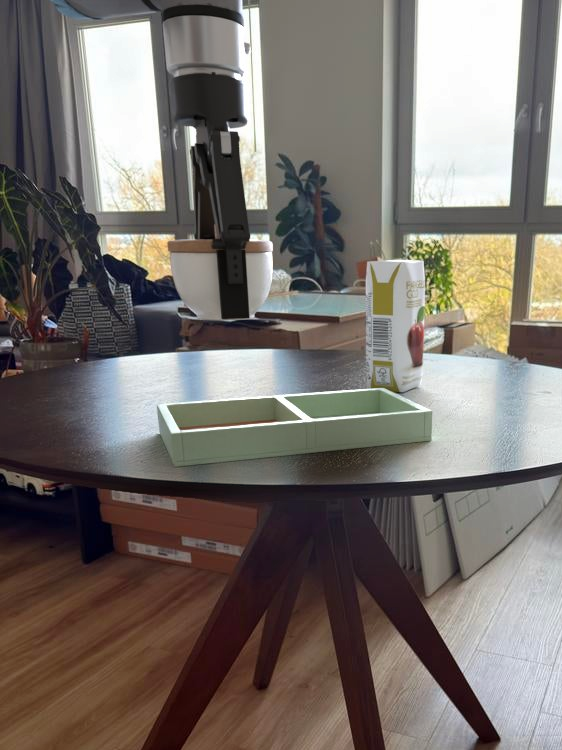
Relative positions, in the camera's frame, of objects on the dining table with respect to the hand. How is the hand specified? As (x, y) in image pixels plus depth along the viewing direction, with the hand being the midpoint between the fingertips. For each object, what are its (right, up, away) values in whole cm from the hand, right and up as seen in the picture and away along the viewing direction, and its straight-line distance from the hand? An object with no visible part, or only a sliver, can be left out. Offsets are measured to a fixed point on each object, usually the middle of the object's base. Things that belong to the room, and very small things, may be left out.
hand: (225, 313), depth 78 cm
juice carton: (+19, -2, +36) cm, 41 cm away
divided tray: (+6, -12, +7) cm, 16 cm away
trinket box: (0, -1, 0) cm, 1 cm away
